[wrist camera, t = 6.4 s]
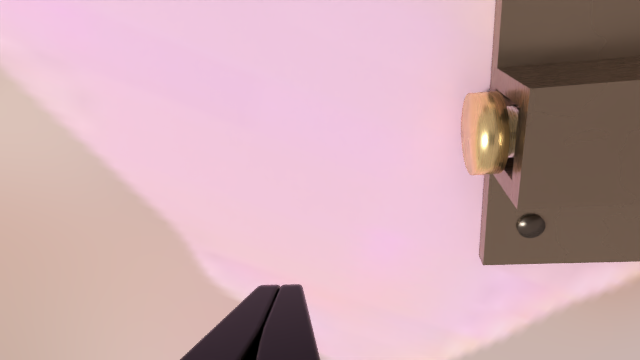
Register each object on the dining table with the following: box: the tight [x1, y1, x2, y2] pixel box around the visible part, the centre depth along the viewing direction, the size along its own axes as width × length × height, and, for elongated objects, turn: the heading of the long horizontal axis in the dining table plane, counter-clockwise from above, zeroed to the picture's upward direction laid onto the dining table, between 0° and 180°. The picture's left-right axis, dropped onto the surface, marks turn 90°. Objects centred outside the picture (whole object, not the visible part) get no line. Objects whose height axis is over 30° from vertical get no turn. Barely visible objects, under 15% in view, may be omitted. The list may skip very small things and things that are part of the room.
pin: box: [461, 91, 519, 175], centre depth 15 cm, size 12×3×3 cm, turn 96°
